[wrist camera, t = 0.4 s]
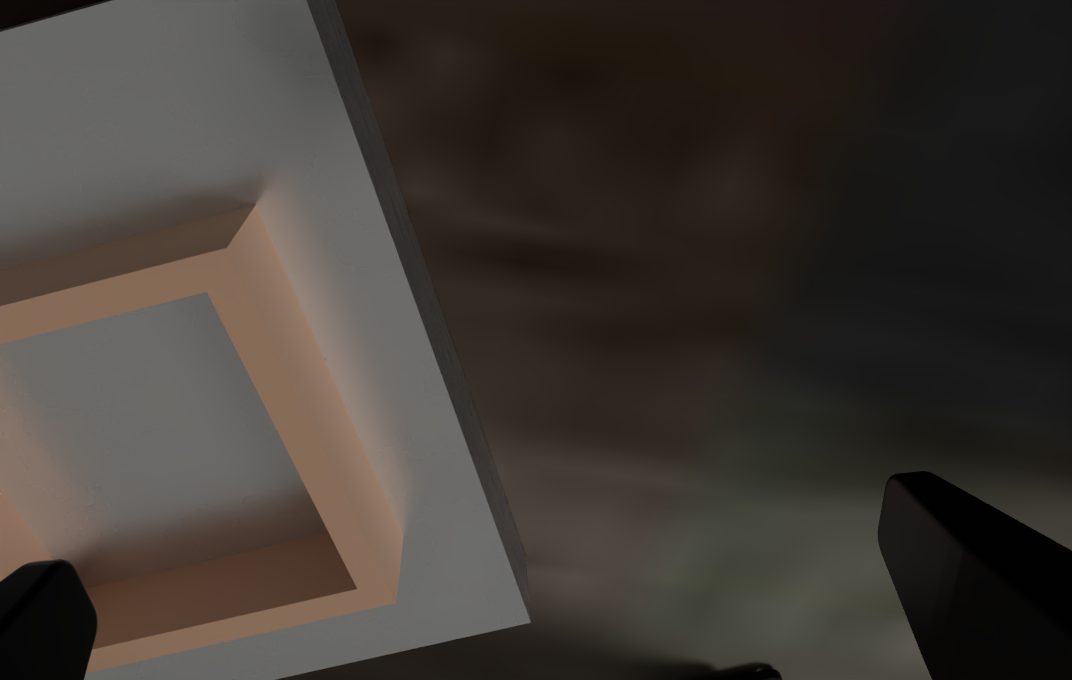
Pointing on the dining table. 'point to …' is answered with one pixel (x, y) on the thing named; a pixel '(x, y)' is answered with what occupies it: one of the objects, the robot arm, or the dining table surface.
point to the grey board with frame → (230, 352)
